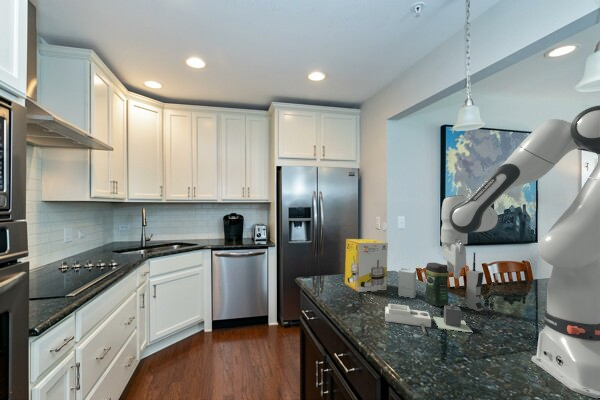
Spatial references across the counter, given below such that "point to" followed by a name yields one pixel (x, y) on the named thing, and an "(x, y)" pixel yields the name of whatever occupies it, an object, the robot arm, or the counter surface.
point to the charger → (452, 315)
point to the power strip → (407, 316)
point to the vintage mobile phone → (474, 288)
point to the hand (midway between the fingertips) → (453, 275)
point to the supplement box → (407, 283)
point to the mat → (442, 325)
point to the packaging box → (366, 264)
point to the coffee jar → (437, 284)
